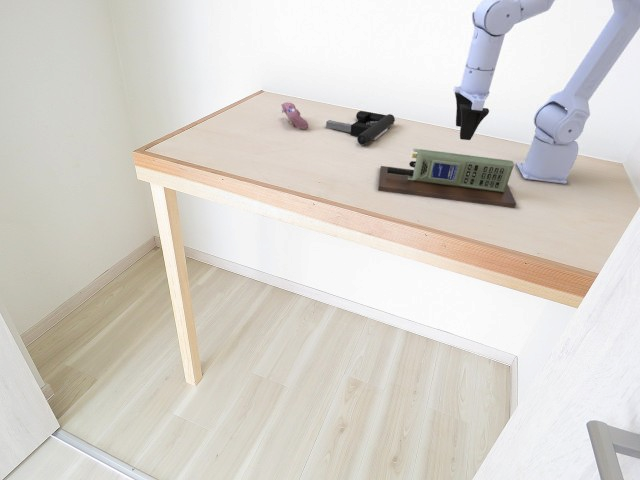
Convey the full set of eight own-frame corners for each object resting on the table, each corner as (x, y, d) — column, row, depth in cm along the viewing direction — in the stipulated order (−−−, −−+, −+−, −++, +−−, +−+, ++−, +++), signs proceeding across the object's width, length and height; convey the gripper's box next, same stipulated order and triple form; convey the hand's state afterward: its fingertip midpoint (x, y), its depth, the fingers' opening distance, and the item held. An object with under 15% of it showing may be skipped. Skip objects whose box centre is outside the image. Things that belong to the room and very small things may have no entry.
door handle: (315, 125, 110) (371, 136, 103) (349, 105, 124) (400, 114, 117) (315, 137, 111) (370, 149, 105) (348, 116, 126) (399, 126, 119)
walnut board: (505, 184, 93) (506, 181, 93) (514, 207, 85) (516, 203, 85) (380, 169, 96) (380, 165, 96) (378, 190, 88) (378, 186, 87)
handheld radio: (504, 194, 88) (386, 178, 90) (502, 187, 90) (386, 172, 93) (515, 165, 84) (391, 149, 87) (511, 159, 87) (391, 143, 89)
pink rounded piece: (287, 123, 121) (276, 101, 116) (300, 115, 120) (290, 93, 116) (295, 136, 113) (284, 114, 109) (310, 128, 113) (299, 105, 108)
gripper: (455, 57, 89) (441, 119, 97) (464, 74, 77) (447, 143, 85) (489, 60, 89) (472, 122, 97) (503, 78, 77) (482, 147, 85)
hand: (462, 132), depth 91 cm, fingers open, 7 cm apart
